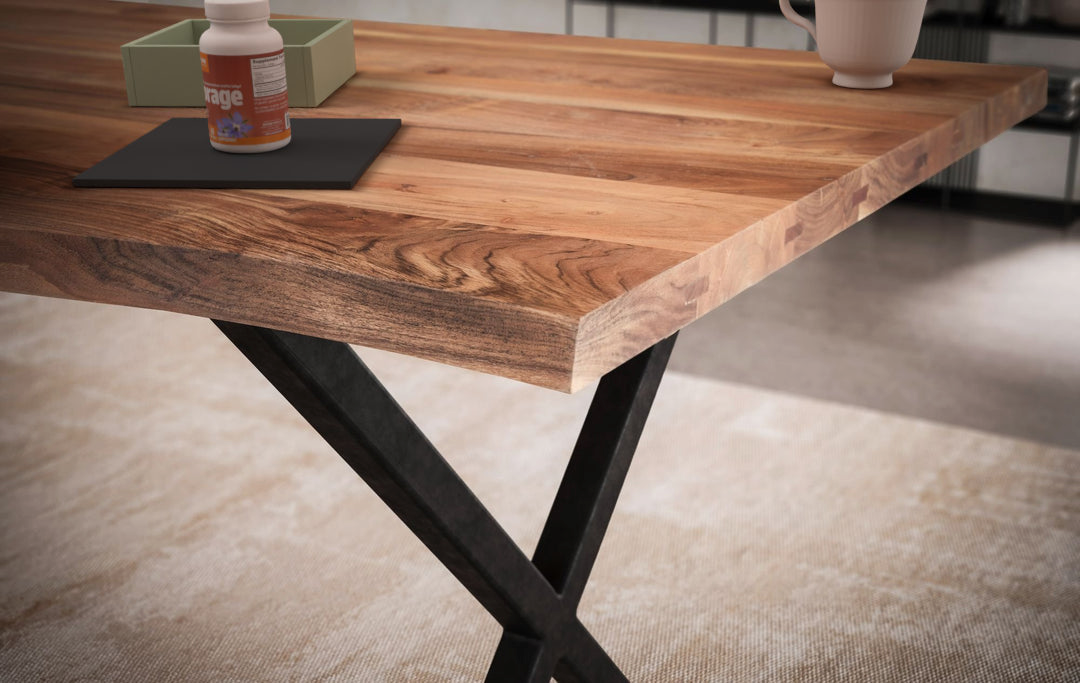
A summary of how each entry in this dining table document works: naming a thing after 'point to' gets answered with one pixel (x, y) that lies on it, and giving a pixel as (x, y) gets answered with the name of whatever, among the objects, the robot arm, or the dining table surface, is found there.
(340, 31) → the crate
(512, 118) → the dining table surface
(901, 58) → the teacup
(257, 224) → the dining table surface
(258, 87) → the pill bottle
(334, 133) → the mat
